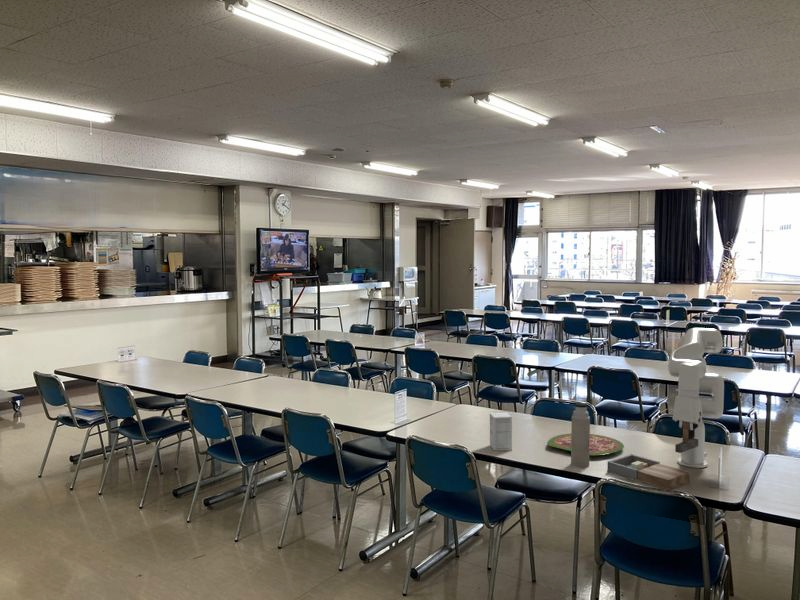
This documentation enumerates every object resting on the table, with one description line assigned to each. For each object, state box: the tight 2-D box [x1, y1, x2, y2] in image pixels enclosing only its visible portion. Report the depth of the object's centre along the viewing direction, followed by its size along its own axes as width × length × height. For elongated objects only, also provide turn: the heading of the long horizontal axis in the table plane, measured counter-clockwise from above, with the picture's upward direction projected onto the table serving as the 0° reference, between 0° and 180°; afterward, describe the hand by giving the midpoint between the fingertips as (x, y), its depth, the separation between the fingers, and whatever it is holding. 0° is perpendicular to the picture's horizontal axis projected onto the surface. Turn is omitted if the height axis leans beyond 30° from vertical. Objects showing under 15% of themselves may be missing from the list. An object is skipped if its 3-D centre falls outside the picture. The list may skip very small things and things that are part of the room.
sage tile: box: [631, 461, 643, 471], centre depth 269 cm, size 5×5×2 cm
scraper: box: [674, 421, 698, 454], centre depth 254 cm, size 14×2×14 cm, turn 127°
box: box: [606, 453, 661, 481], centre depth 275 cm, size 18×14×4 cm
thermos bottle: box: [570, 402, 591, 469], centre depth 284 cm, size 8×8×28 cm
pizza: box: [546, 433, 625, 457], centre depth 312 cm, size 35×35×2 cm
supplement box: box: [489, 412, 513, 451], centre depth 310 cm, size 10×9×17 cm
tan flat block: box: [636, 463, 690, 491], centre depth 264 cm, size 16×14×4 cm
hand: (687, 437), depth 255 cm, fingers closed on scraper, 2 cm apart
